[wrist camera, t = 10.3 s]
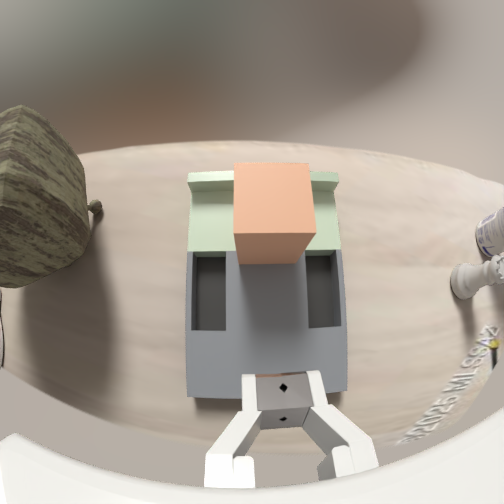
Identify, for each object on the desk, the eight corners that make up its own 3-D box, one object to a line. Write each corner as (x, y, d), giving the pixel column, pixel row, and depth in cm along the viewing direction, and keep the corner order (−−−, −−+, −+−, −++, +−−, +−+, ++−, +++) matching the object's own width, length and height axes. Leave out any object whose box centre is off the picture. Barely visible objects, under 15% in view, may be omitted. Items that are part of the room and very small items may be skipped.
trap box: (338, 385, 23) (355, 395, 19) (192, 390, 23) (181, 402, 19) (325, 194, 29) (337, 172, 24) (196, 194, 28) (188, 172, 24)
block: (295, 263, 24) (316, 232, 16) (238, 264, 24) (233, 233, 16) (291, 211, 25) (308, 163, 18) (238, 211, 25) (234, 163, 17)
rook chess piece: (475, 289, 26) (517, 276, 18) (457, 307, 25) (502, 297, 17) (462, 259, 27) (504, 240, 19) (443, 275, 26) (488, 257, 19)
